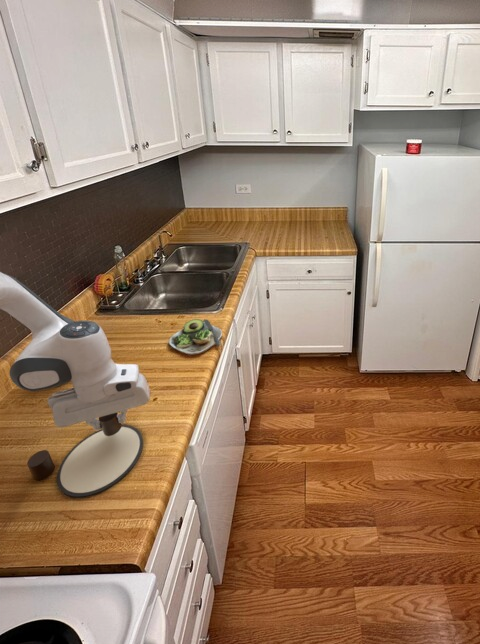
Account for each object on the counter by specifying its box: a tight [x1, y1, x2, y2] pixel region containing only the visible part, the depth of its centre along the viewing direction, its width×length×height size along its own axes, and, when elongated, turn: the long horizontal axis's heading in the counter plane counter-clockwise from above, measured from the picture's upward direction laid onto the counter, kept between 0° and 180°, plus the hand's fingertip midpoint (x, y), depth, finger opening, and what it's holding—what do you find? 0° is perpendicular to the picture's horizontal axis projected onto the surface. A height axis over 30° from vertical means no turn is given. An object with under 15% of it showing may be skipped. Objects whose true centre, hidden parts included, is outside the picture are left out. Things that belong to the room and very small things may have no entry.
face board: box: [56, 424, 144, 499], centre depth 81 cm, size 18×18×1 cm
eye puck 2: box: [98, 412, 123, 436], centre depth 84 cm, size 4×4×5 cm
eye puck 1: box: [26, 449, 56, 482], centre depth 77 cm, size 4×4×5 cm
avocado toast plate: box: [168, 318, 223, 355], centre depth 122 cm, size 19×18×5 cm
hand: (111, 424), depth 84 cm, fingers closed on eye puck 2, 4 cm apart
